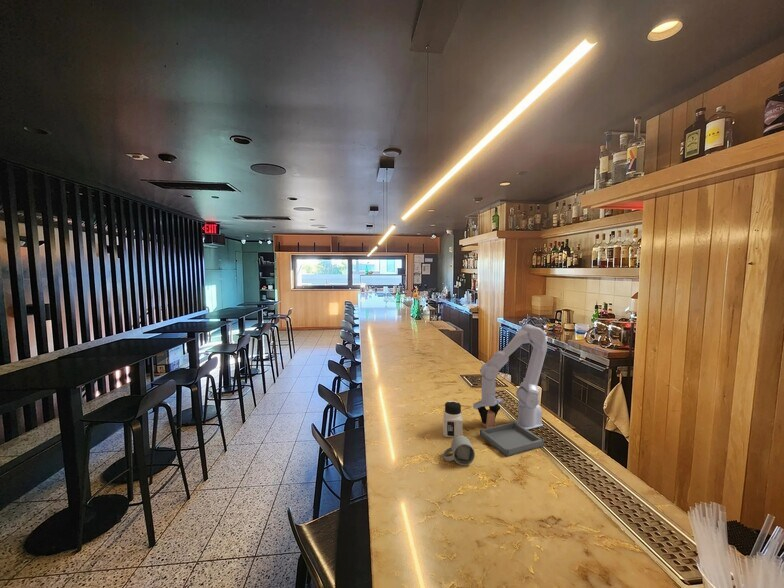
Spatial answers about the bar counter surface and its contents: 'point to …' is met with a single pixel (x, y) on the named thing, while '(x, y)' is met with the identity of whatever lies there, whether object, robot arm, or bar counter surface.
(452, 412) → the container
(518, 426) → the charcoal tray
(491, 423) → the terracotta block
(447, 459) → the ceramic mug
